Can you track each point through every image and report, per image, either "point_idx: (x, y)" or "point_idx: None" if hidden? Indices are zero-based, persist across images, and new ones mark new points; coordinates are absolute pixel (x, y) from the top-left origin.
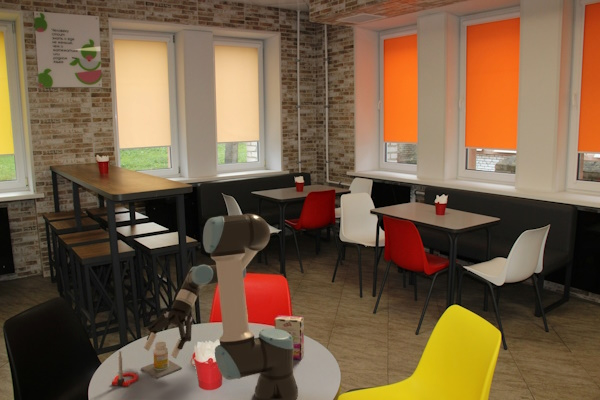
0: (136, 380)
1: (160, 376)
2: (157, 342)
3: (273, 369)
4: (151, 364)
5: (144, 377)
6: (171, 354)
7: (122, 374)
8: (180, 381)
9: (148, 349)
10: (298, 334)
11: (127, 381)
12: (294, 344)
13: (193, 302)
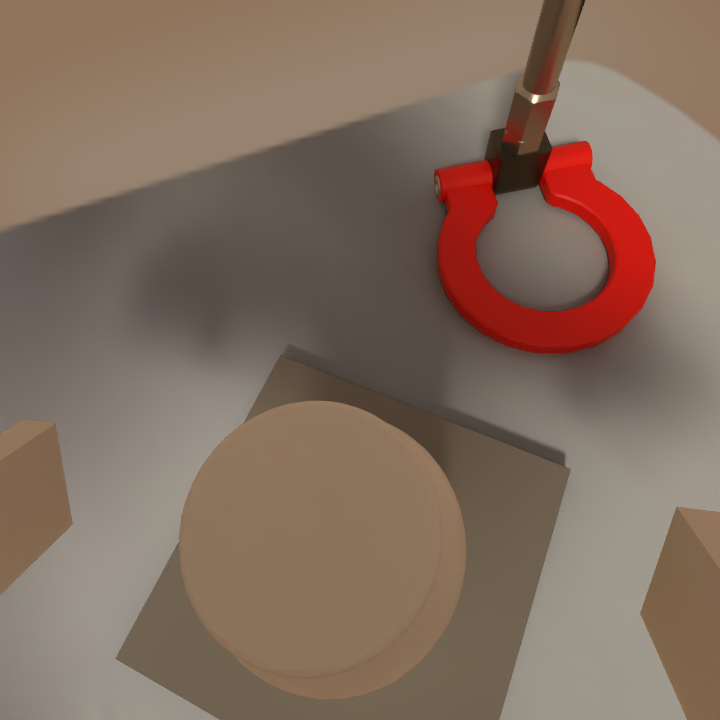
0: (438, 268)
1: (264, 392)
2: (430, 570)
3: None
4: (520, 589)
5: (413, 345)
6: (41, 429)
7: (511, 107)
8: (48, 397)
9: (652, 604)
10: None
11: (478, 200)
12: None
13: None
